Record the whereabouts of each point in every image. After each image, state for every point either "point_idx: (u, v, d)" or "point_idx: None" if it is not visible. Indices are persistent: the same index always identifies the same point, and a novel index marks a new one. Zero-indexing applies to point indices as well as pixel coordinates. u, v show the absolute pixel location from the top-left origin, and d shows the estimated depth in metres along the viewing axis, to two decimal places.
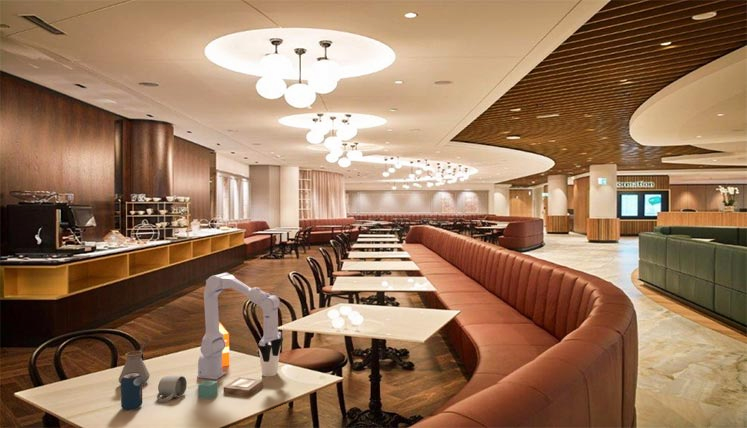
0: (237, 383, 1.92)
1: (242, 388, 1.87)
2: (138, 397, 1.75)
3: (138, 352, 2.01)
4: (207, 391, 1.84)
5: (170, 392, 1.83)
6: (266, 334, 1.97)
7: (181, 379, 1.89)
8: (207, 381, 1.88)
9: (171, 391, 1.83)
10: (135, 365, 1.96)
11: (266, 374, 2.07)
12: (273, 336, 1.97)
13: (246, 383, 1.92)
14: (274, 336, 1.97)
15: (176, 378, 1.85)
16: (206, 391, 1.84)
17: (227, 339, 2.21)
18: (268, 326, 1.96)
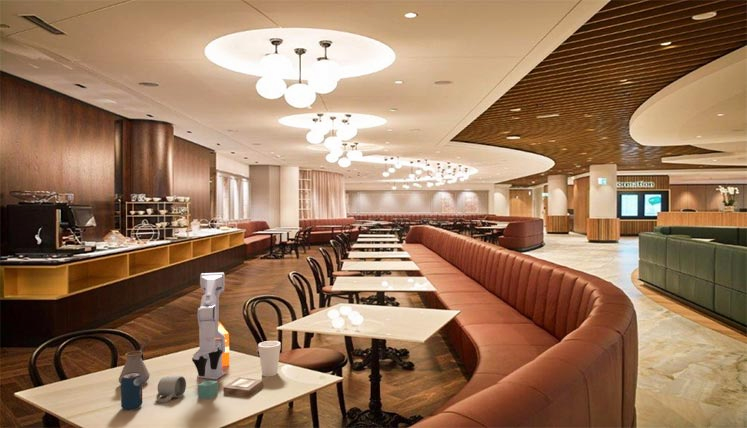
0: (237, 383, 1.92)
1: (242, 388, 1.87)
2: (138, 397, 1.75)
3: (138, 352, 2.01)
4: (207, 391, 1.84)
5: (169, 392, 1.82)
6: (202, 346, 1.83)
7: (180, 379, 1.89)
8: (207, 381, 1.88)
9: (170, 391, 1.82)
10: (135, 365, 1.96)
11: (266, 374, 2.07)
12: (209, 349, 1.84)
13: (246, 383, 1.92)
14: (210, 349, 1.84)
15: (175, 378, 1.85)
16: (206, 391, 1.84)
17: (227, 339, 2.21)
18: (199, 337, 1.85)
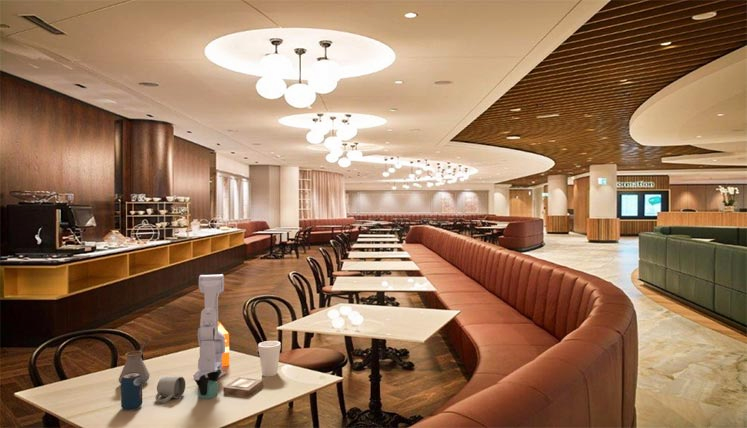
0: (237, 383, 1.92)
1: (242, 388, 1.87)
2: (138, 397, 1.75)
3: (138, 352, 2.01)
4: (207, 391, 1.84)
5: (169, 393, 1.82)
6: (202, 366, 1.84)
7: (180, 380, 1.89)
8: None
9: (170, 392, 1.82)
10: (135, 365, 1.96)
11: (266, 374, 2.07)
12: (209, 368, 1.84)
13: (246, 383, 1.92)
14: (211, 368, 1.84)
15: (175, 379, 1.84)
16: None
17: (227, 339, 2.21)
18: None
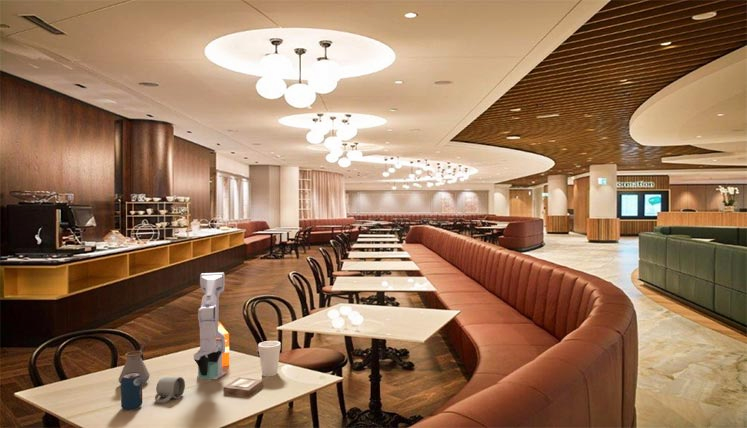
0: (237, 383, 1.92)
1: (242, 388, 1.87)
2: (138, 397, 1.75)
3: (138, 352, 2.01)
4: (208, 371, 1.84)
5: (168, 393, 1.82)
6: (202, 347, 1.84)
7: (179, 380, 1.88)
8: None
9: (169, 392, 1.82)
10: (135, 365, 1.96)
11: (266, 374, 2.07)
12: (210, 349, 1.84)
13: (247, 383, 1.92)
14: (211, 349, 1.84)
15: (174, 379, 1.84)
16: None
17: (227, 339, 2.21)
18: (200, 337, 1.85)
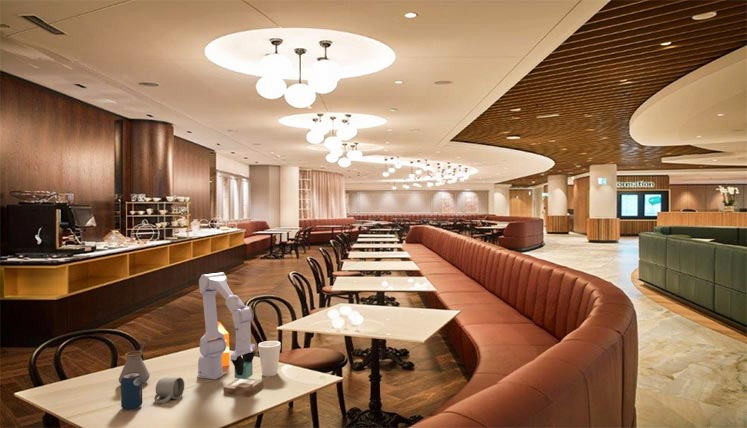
0: (237, 383, 1.92)
1: (242, 388, 1.87)
2: (138, 397, 1.75)
3: (138, 352, 2.01)
4: (244, 371, 1.89)
5: (167, 393, 1.81)
6: (238, 347, 1.89)
7: (179, 380, 1.88)
8: None
9: (168, 392, 1.81)
10: (135, 365, 1.96)
11: (266, 374, 2.07)
12: (245, 349, 1.90)
13: (247, 383, 1.92)
14: (246, 349, 1.90)
15: (174, 379, 1.83)
16: None
17: (227, 339, 2.21)
18: (237, 339, 1.89)
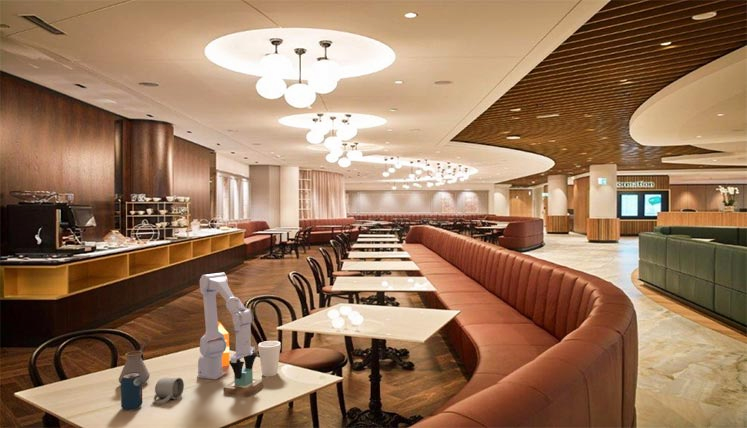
0: None
1: (242, 388, 1.87)
2: (138, 397, 1.75)
3: (138, 352, 2.01)
4: (243, 378, 1.89)
5: (167, 394, 1.81)
6: (238, 350, 1.89)
7: (178, 381, 1.88)
8: (242, 369, 1.94)
9: (168, 393, 1.81)
10: (135, 365, 1.96)
11: (266, 374, 2.07)
12: (245, 352, 1.90)
13: None
14: (246, 352, 1.90)
15: (173, 380, 1.83)
16: (242, 378, 1.90)
17: (227, 339, 2.21)
18: (237, 341, 1.89)
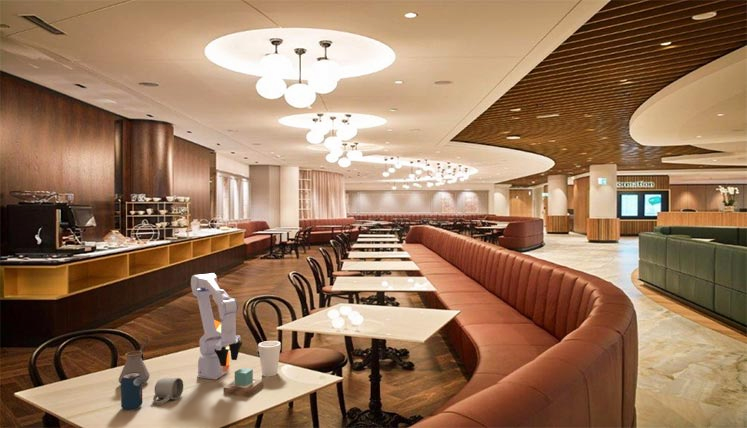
0: None
1: (242, 388, 1.87)
2: (138, 397, 1.75)
3: (138, 352, 2.01)
4: (244, 378, 1.89)
5: (166, 394, 1.81)
6: (223, 338, 1.93)
7: (178, 381, 1.87)
8: (243, 369, 1.94)
9: (167, 393, 1.81)
10: (135, 365, 1.96)
11: (266, 374, 2.07)
12: (230, 340, 1.94)
13: None
14: (231, 340, 1.94)
15: (173, 380, 1.83)
16: (242, 379, 1.90)
17: None
18: (222, 329, 1.94)
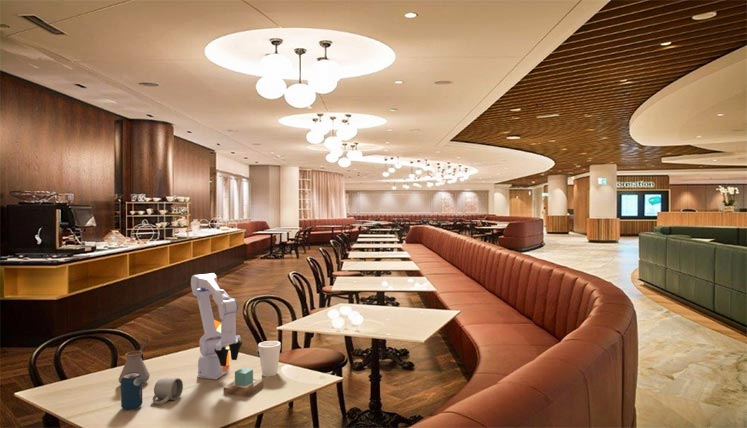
0: None
1: (242, 388, 1.87)
2: (138, 397, 1.75)
3: (138, 352, 2.01)
4: (243, 378, 1.89)
5: (166, 394, 1.81)
6: (223, 338, 1.93)
7: (177, 381, 1.87)
8: (243, 369, 1.94)
9: (167, 393, 1.80)
10: (135, 365, 1.96)
11: (266, 374, 2.07)
12: (230, 340, 1.94)
13: None
14: (231, 340, 1.94)
15: (172, 380, 1.83)
16: (242, 379, 1.90)
17: None
18: (222, 329, 1.94)
